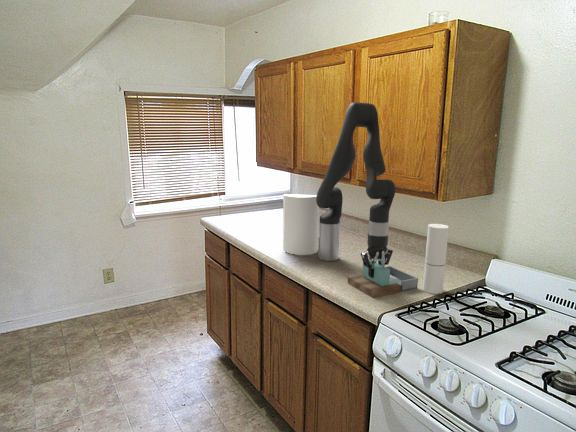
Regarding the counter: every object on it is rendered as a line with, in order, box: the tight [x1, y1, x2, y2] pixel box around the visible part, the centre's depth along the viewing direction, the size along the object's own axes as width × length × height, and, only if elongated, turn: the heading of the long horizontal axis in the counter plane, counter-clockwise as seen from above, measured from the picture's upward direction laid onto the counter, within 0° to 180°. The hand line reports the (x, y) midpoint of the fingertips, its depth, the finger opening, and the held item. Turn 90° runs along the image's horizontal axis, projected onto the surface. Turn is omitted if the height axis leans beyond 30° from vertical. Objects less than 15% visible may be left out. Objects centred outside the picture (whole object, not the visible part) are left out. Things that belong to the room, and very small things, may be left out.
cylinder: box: [282, 193, 320, 256], centre depth 204 cm, size 17×17×28 cm
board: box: [347, 273, 402, 299], centre depth 159 cm, size 16×13×2 cm
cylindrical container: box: [422, 223, 450, 295], centre depth 154 cm, size 7×7×25 cm
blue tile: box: [389, 275, 397, 285], centre depth 157 cm, size 4×4×2 cm
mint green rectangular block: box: [361, 262, 390, 286], centre depth 158 cm, size 12×4×6 cm, turn 26°
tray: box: [385, 265, 419, 292], centre depth 163 cm, size 16×8×4 cm, turn 27°
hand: (375, 276), depth 159 cm, fingers closed on mint green rectangular block, 3 cm apart
